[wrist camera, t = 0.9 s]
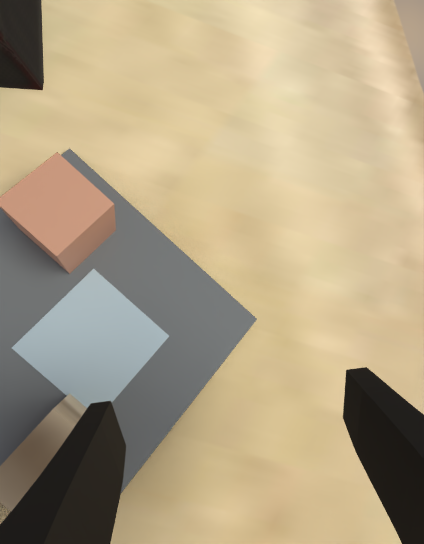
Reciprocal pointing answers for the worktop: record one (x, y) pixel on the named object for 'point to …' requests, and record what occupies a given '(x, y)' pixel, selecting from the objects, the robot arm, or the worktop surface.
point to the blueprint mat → (109, 330)
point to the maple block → (37, 451)
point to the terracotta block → (60, 212)
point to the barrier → (21, 44)
